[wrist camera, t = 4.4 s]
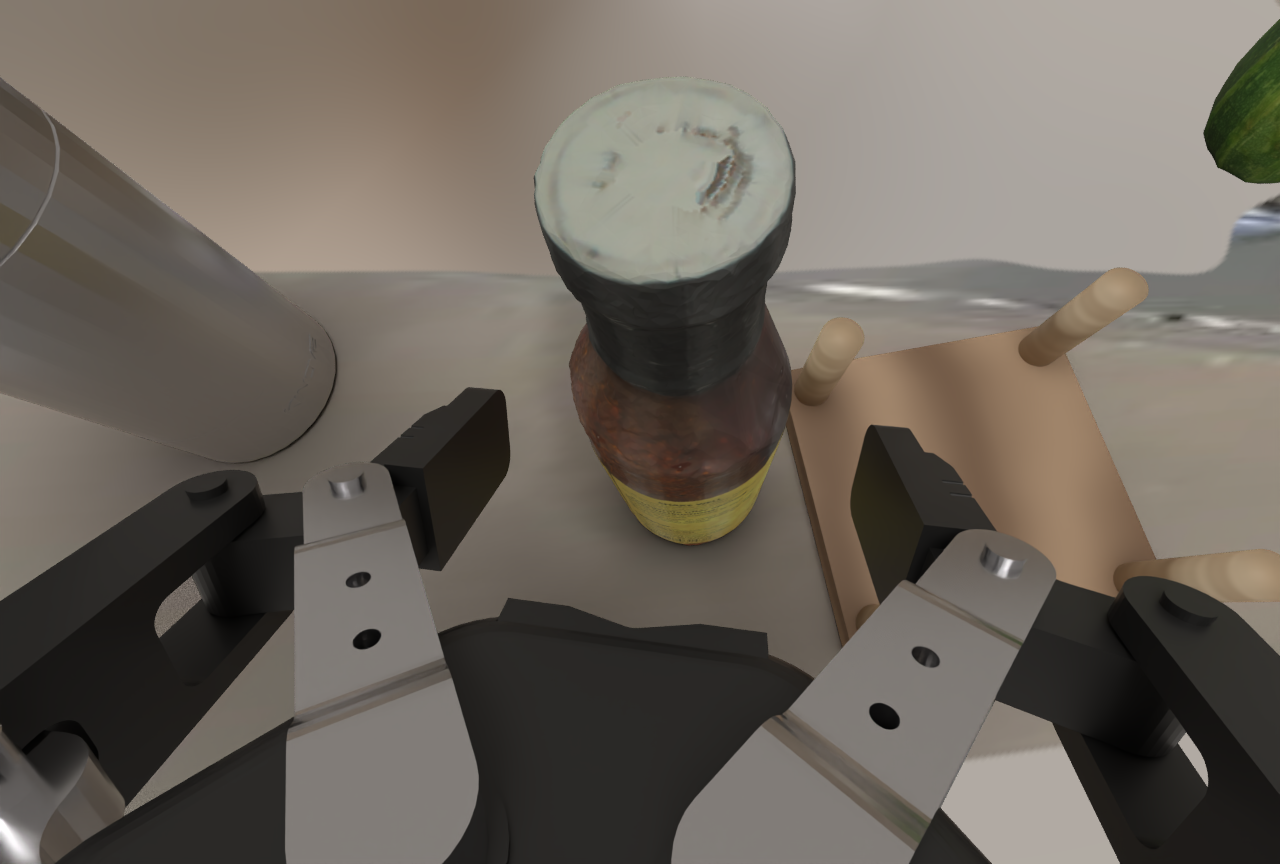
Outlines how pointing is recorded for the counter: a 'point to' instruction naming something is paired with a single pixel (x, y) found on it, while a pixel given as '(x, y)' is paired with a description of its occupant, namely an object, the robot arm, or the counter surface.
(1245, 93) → the vegetable
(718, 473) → the sauce bottle
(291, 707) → the counter surface
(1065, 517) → the peg stand
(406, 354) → the counter surface
